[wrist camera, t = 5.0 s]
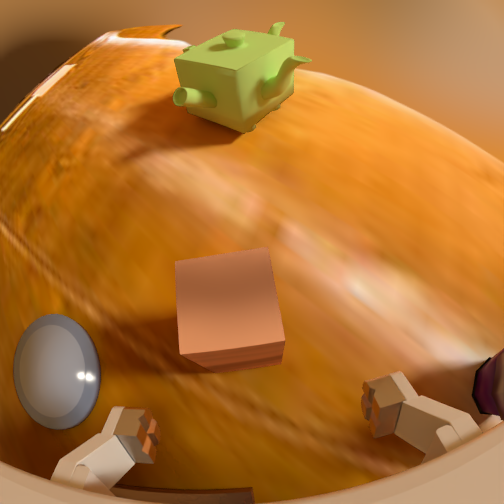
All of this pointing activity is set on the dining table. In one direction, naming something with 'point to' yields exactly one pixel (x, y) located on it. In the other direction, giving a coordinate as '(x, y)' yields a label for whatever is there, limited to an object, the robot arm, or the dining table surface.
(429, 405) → the robot arm
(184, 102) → the kettle
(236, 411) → the dining table surface
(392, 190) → the dining table surface
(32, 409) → the gray dish
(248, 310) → the terracotta block
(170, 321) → the dining table surface
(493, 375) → the potion bottle
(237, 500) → the brass balance
